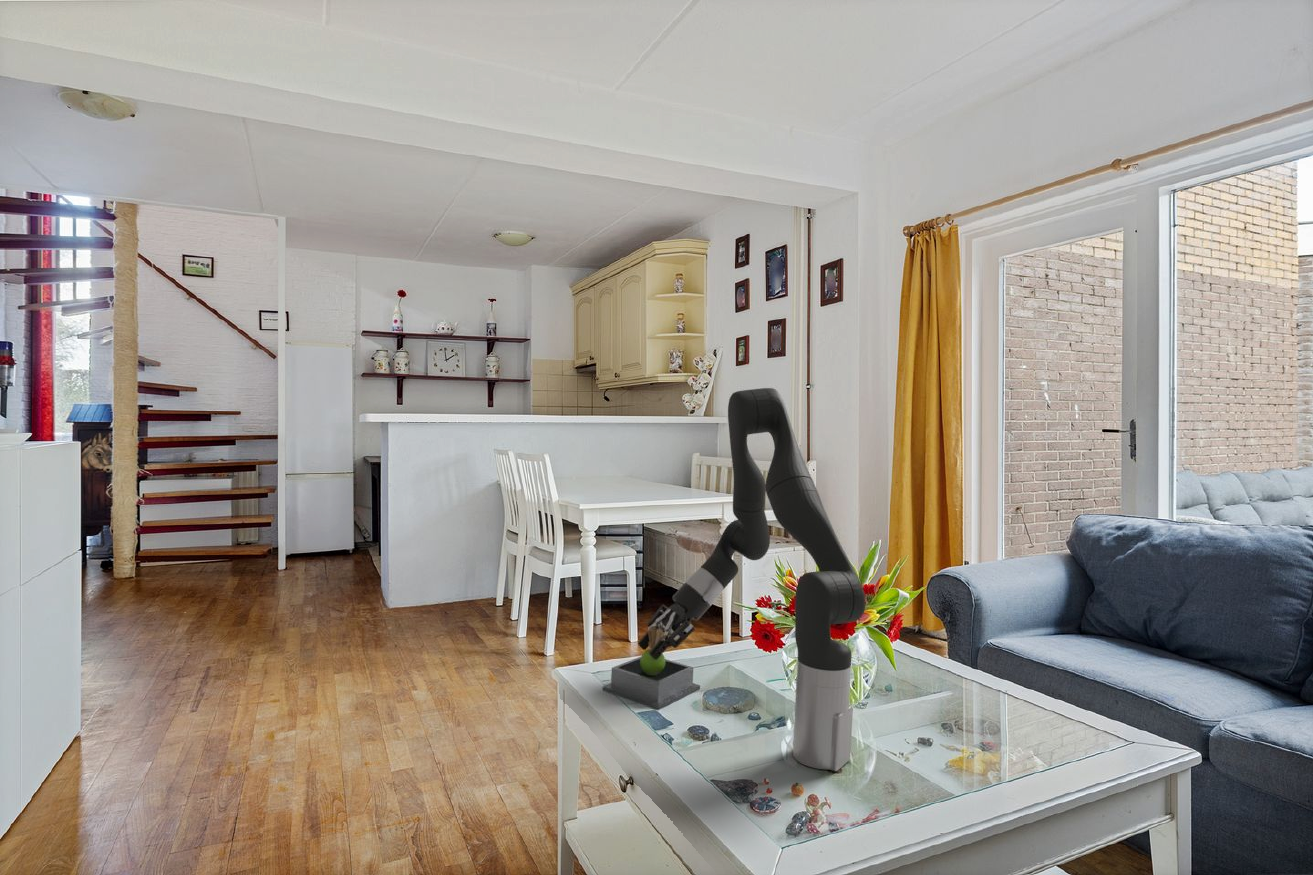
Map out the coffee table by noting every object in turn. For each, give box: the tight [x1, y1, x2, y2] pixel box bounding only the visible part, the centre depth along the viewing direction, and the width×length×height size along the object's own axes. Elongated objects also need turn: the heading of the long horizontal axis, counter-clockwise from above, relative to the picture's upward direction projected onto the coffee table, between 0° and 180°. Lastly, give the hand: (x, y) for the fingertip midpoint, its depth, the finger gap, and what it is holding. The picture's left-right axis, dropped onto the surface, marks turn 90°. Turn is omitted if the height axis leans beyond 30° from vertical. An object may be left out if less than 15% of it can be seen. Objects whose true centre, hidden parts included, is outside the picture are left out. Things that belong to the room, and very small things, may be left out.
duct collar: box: [602, 656, 701, 710], centre depth 159 cm, size 15×15×5 cm
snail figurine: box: [640, 624, 666, 675], centre depth 159 cm, size 5×6×12 cm
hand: (646, 651), depth 158 cm, fingers closed on snail figurine, 6 cm apart
